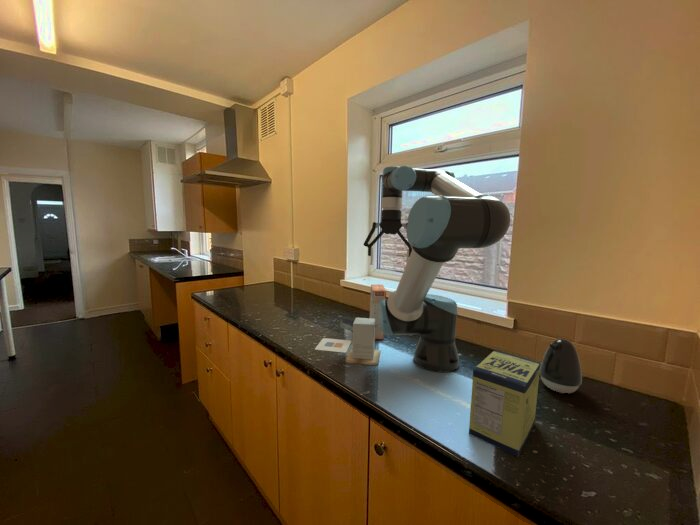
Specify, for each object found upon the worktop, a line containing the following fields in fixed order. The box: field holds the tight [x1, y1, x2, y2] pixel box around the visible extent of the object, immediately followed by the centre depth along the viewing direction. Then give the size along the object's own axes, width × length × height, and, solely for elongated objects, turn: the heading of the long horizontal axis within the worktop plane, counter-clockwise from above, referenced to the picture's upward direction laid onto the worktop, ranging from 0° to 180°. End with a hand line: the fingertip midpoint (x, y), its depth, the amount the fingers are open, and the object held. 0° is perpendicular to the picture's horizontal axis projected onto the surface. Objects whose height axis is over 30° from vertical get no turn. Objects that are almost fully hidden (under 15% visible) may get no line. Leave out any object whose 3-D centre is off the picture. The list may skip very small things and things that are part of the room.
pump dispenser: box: [539, 338, 583, 394], centre depth 88 cm, size 10×10×15 cm
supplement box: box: [352, 317, 376, 360], centre depth 106 cm, size 7×7×13 cm
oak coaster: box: [345, 347, 382, 366], centre depth 107 cm, size 11×11×1 cm
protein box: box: [468, 349, 541, 458], centre depth 69 cm, size 10×16×16 cm
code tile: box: [314, 337, 353, 354], centre depth 117 cm, size 12×12×1 cm
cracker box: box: [369, 283, 387, 340], centre depth 130 cm, size 14×6×21 cm, turn 179°
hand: (389, 265), depth 116 cm, fingers open, 13 cm apart
